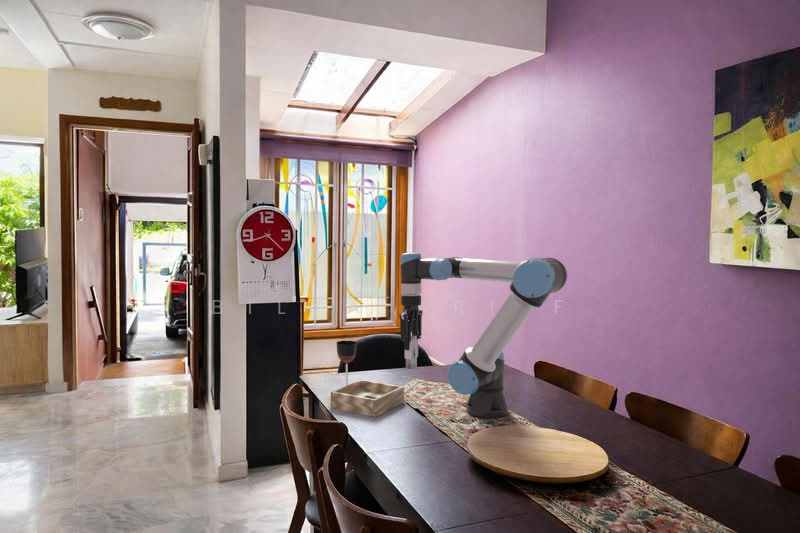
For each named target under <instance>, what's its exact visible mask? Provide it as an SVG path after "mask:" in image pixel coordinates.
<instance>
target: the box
mask: <svg viewBox="0 0 800 533" xmlns="http://www.w3.org/2000/svg"><path fill="white" fill-rule="evenodd" d="M404 402H405V386H402V385H395V384H390V383H384V382H377V381H372V380H366V379H360V380H358V381H355V382H352V383H349V384H348V385H347V386H346V385H345V386H343V387H340V388H338V389H335V390H332V391H330V408H332V409H334V410H335V409H336V410H340V411H345V412H350V413H355V414H359V415H363V416H369V417H375V418H376V417H378V416H380V415H382V414H384V413H385V412H387V411H389V410H391V409H393V408H395V407H397V406H399V405H401V404H403V403H404Z"/></svg>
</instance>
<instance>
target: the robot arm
mask: <svg viewBox="0 0 800 533" xmlns="http://www.w3.org/2000/svg"><path fill="white" fill-rule="evenodd" d="M453 278H454V279H465V280H466V279H467V280H468V279H469V280H480V281H491V282H502V283H510V284H509V292H510V293H509V295H508V296H507V297H506V299H505V300H504V302H503V303H502V305H501V306H500V307H499V310H497V312H496V314H494V316H493V318H491V321H490V322H489V323H488V325H487V327H486V328H485V329H484V331H483V332H482V333H481V335H480V337H479V338H478V339H477V341H476V342H475V343H474V345H473V346H469V347H467V348H466V349H465V351H464V352H463V354H462V355H461V356H460V358H458V360H456V361H454V362H453V363H451V364H450V365H449V367H448V369H447V374H446V375H447V379H448V383H449V385H450V386H451V388H452V389H453V391H454V392H456V393H457V394H459V395H463V396H468V398H467V402H466V413H467V414H469V415H471V416H474V417H478V418H483V419H497V418H503V417H505V416H508V414H509V405H508V401H507V398H506V394H505V391H504V390H505V389H504V388H505V386H504V384H505V379H504V377H505V358H504V357H505V354H504V352H503V351H504V350H505V349H506V347H507V346H508V344H509V343H510V342H511V340H512V339H513V338H514V336H515V334H516V333H517V331H518V330H519V329H520V328H521V326H522V325H523V324H524V323H525V320H526V319H527V318H528V316H530V313H531V312H532V311H533V310H534V309H539V308H541V307H542V305H543V304H544V303H545V302H546V300H547V299H548V297H549V296H550V295H551V294H553V293H556V292H558V291H560V290H561V289H563V287H565V284H566V282H567V280H568V271H567V268H566V266H565V265H564V263H562V261H560V260H559V259H556V258H554V257H544V258H543V257H541V258H539V257H534V258H533V257H532V258H528V259H527V260H524V261H520V260H518V261H517V260H501V259H500V260H498V259H483V258H463V257H457V256H454V257H453V256H452V257H444V258H439V257H438V258H422V255H421V253H419V252H405V253H402V254H401V255H400V293H401V296H400V305H401V306H403V312H402V313H399V320H400V321H399V322H400V324H399V325H400V340H401V341H402V342H404V343H403V344H404V359H405V360H406V359H412V341H410V340H411V335H416V336H417V358H418V357H419V340H421V339H422V326H423V325H422V324H423V323H422V322H423V321H422V320H423V319H422V318H423V310H422V309H419V306H421V305H422V280H432V281H433V280H435V281H447V280H449V279H453Z"/></svg>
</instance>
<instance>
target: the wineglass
mask: <svg viewBox="0 0 800 533" xmlns="http://www.w3.org/2000/svg"><path fill="white" fill-rule="evenodd" d="M336 352H337V357H338V358H339V359H338V360H340V361H341V362H343V363H344V364H345V386H347V385H349V384H348V383H349V382H348V378H349V377H348V376H349V375H348V371H349V370H348V369H349V367H348V366H349V363H351V362H352V361H353V360H354V359H355V358H356V354H357V341H355V340H340V341H339V340H338V341H336Z"/></svg>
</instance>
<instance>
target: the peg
mask: <svg viewBox="0 0 800 533" xmlns="http://www.w3.org/2000/svg"><path fill="white" fill-rule="evenodd" d="M410 341H412V359H406V358H405V368H406V369H408V370H416V369H417V367H418V366H417V365H418V363H417V361H418V360H417V358H418V357H417V336H416V335H412V334H411V340H410Z"/></svg>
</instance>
